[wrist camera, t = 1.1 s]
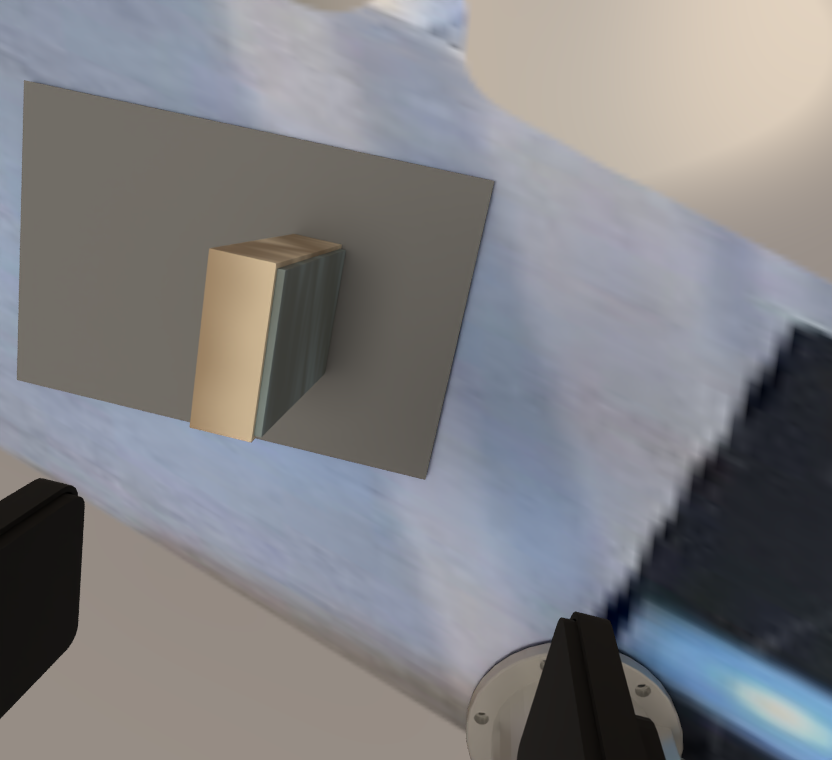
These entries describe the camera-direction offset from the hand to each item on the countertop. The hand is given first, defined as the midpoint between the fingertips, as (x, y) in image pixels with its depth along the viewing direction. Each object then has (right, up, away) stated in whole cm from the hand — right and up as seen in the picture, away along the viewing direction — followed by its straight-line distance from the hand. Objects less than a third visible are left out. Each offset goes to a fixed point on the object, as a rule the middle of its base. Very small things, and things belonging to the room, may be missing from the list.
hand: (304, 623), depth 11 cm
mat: (-8, +9, +24) cm, 26 cm away
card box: (-4, +8, +23) cm, 24 cm away
